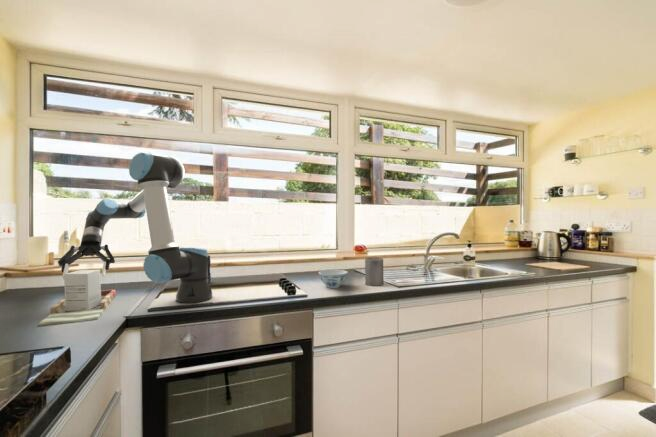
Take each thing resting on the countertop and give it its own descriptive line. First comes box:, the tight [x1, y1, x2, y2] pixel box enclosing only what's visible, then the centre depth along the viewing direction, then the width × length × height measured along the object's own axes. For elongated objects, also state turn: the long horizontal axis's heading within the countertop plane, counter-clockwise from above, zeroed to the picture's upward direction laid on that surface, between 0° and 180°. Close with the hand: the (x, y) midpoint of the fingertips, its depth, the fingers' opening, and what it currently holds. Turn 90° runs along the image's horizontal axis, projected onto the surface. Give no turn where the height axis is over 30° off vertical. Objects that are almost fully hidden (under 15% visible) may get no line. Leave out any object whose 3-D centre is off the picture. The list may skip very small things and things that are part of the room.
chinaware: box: [318, 268, 349, 289], centre depth 169 cm, size 15×15×8 cm
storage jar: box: [207, 254, 212, 285], centre depth 178 cm, size 10×10×15 cm
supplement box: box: [63, 269, 102, 312], centre depth 134 cm, size 9×9×15 cm
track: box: [38, 288, 117, 327], centre depth 134 cm, size 40×17×3 cm, turn 25°
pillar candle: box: [364, 256, 385, 287], centre depth 174 cm, size 10×10×15 cm
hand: (84, 276), depth 138 cm, fingers open, 13 cm apart
